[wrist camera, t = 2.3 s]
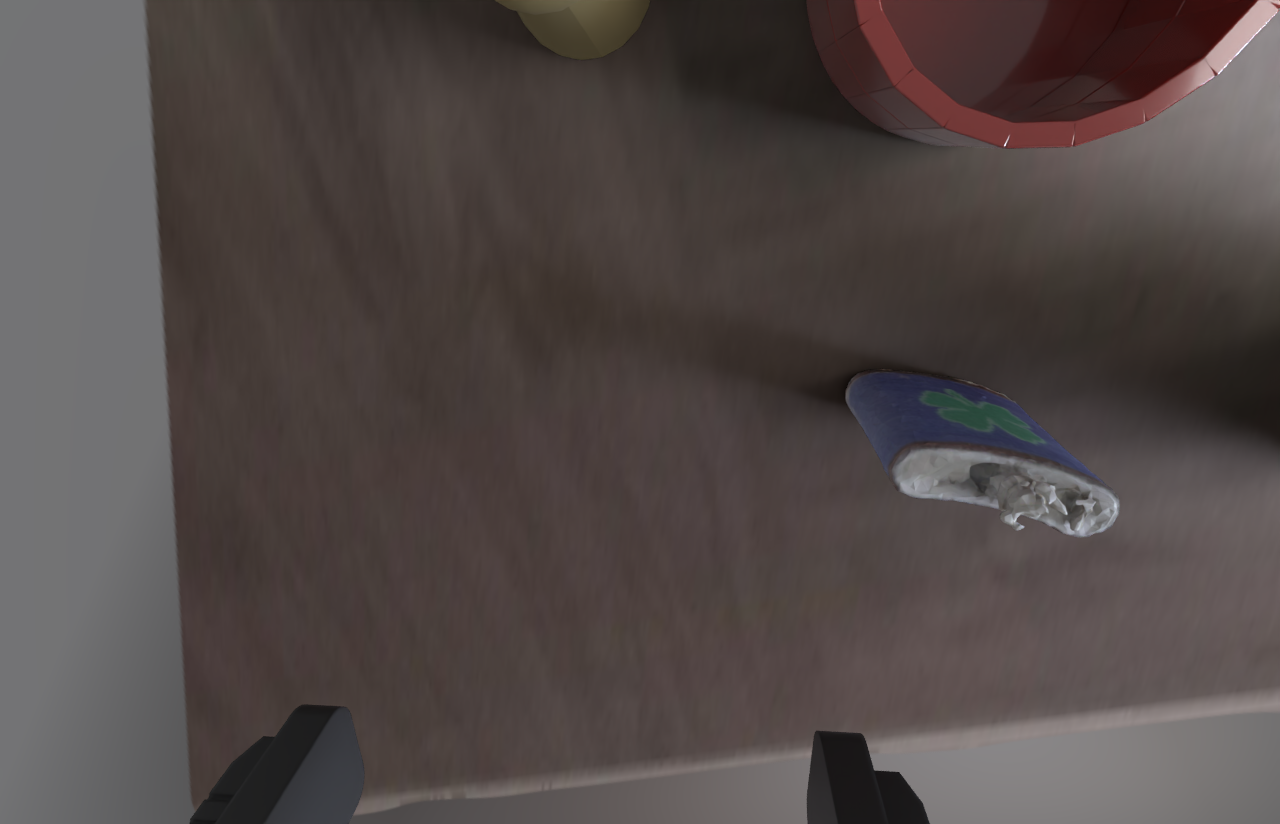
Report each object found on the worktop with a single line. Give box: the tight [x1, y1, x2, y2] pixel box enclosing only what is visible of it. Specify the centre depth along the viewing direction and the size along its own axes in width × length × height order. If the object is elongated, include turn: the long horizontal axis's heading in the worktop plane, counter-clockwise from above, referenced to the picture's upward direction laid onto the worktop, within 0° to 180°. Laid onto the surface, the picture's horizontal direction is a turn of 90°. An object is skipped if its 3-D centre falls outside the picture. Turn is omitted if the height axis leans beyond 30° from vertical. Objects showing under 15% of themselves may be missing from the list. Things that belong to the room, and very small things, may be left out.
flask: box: [845, 368, 1119, 537], centre depth 28 cm, size 9×3×11 cm, turn 78°
